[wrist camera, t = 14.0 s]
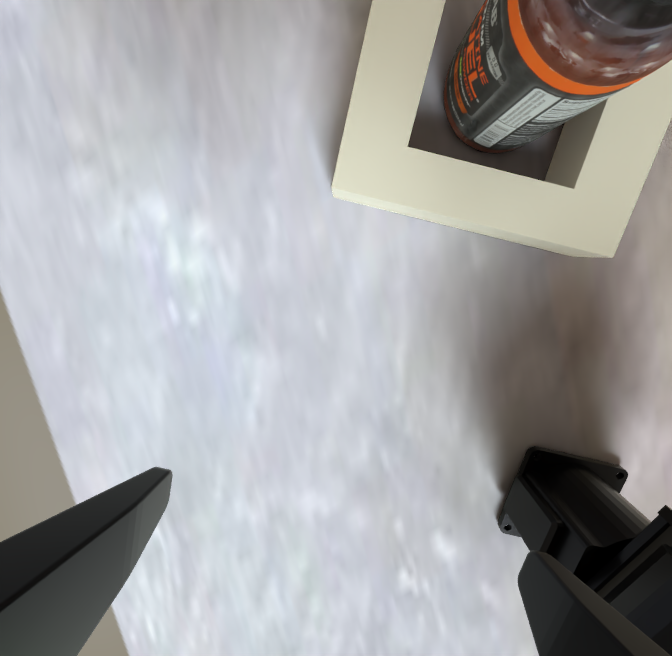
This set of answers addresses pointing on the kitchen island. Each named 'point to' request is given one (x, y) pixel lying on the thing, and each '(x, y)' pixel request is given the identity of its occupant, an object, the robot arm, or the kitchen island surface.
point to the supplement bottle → (549, 64)
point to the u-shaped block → (484, 182)
